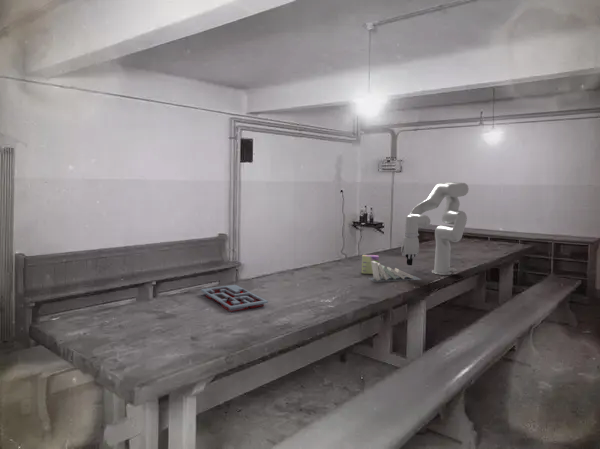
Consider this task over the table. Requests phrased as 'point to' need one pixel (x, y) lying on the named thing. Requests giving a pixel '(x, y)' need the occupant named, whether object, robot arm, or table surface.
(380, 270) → the domino
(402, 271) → the domino
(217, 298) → the maze game
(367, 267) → the box
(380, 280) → the mat
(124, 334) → the table surface
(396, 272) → the domino
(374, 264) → the domino
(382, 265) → the domino
